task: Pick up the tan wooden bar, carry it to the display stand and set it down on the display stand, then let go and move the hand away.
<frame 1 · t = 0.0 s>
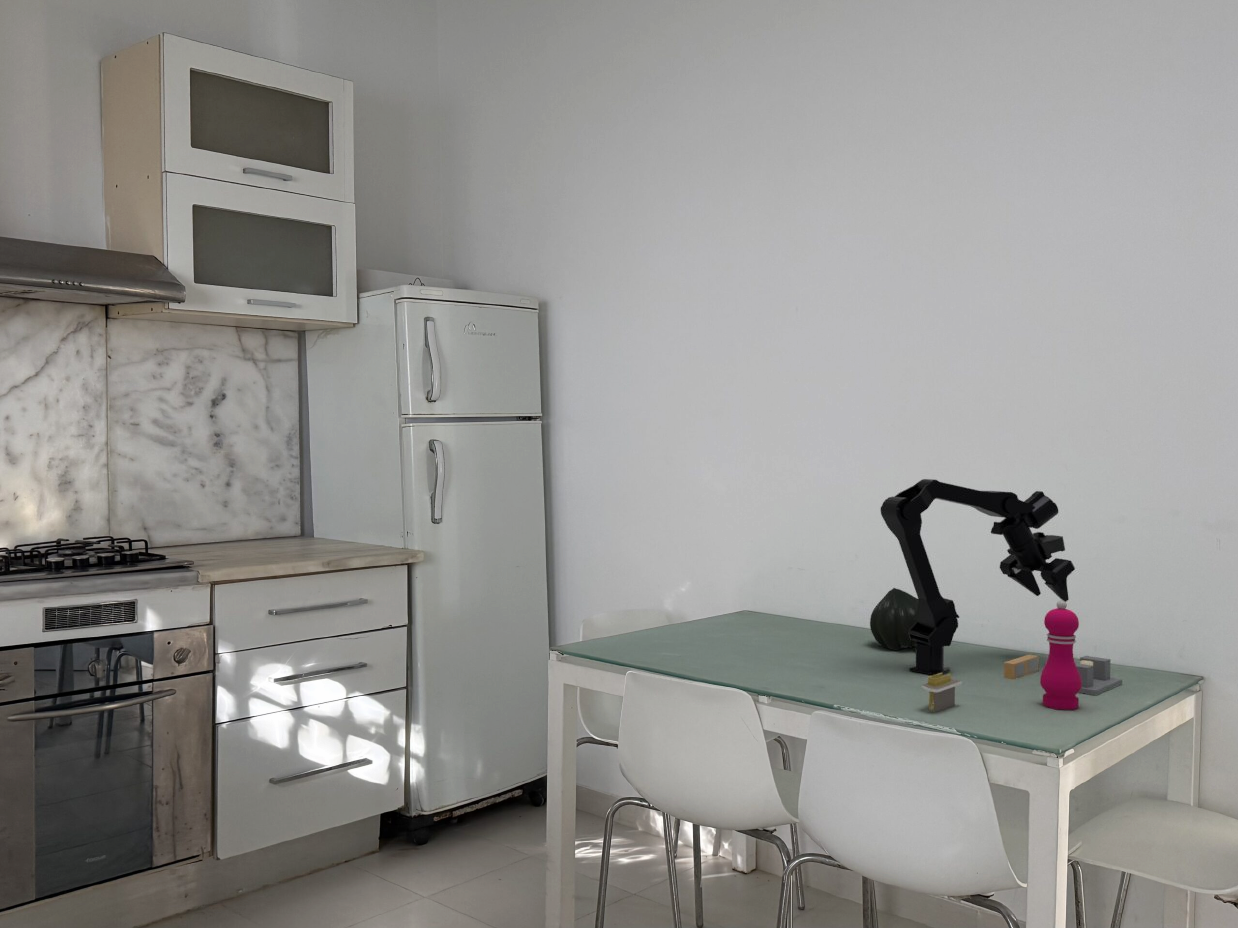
hand: (1052, 597, 231), 15 cm above the table, tool tilted 35°, fingers open, 9 cm apart
display stand: (1086, 685, 209), on the table
squash: (901, 648, 249), on the table
tan wooden bar: (1021, 675, 220), on the table
pepper mill: (1060, 706, 193), on the table
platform: (940, 711, 192), on the table
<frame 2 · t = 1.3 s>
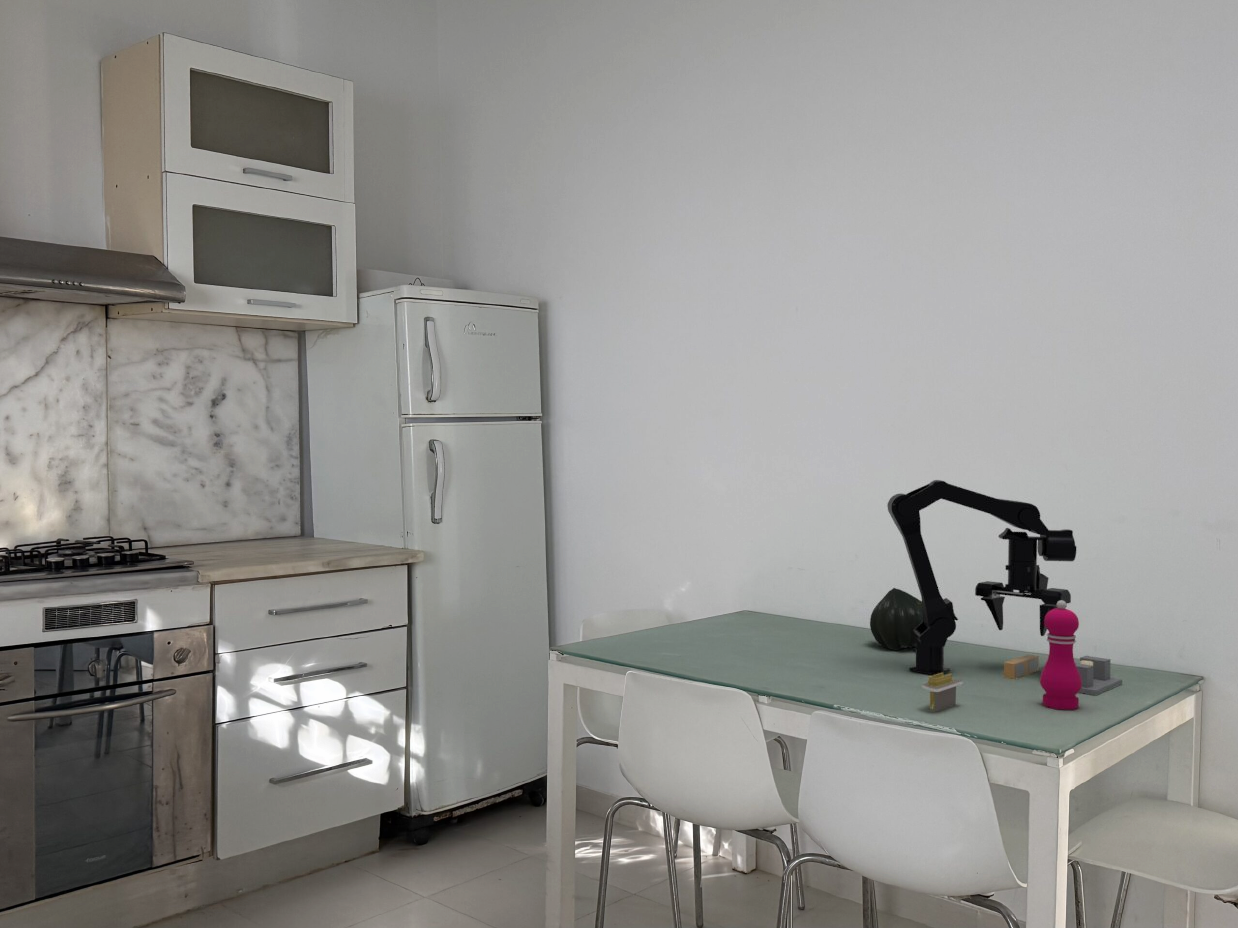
hand: (1021, 632, 220), 9 cm above the table, tool pointing down, fingers open, 9 cm apart
nothing on the table moved.
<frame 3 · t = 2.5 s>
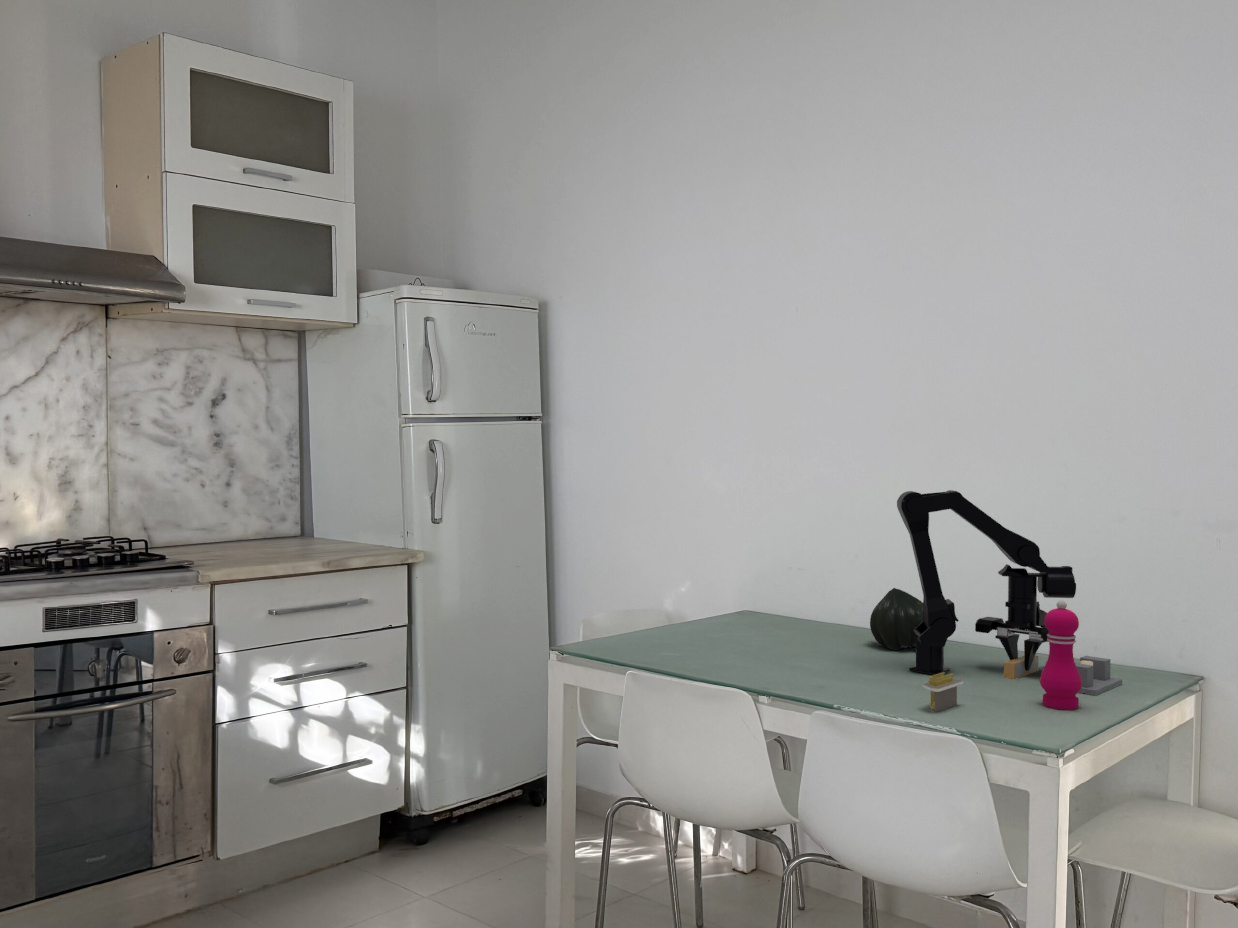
hand: (1021, 669, 220), 1 cm above the table, tool pointing down, fingers closed on tan wooden bar, 2 cm apart
tan wooden bar: (1021, 675, 220), on the table, touching gripper
everything else where it was.
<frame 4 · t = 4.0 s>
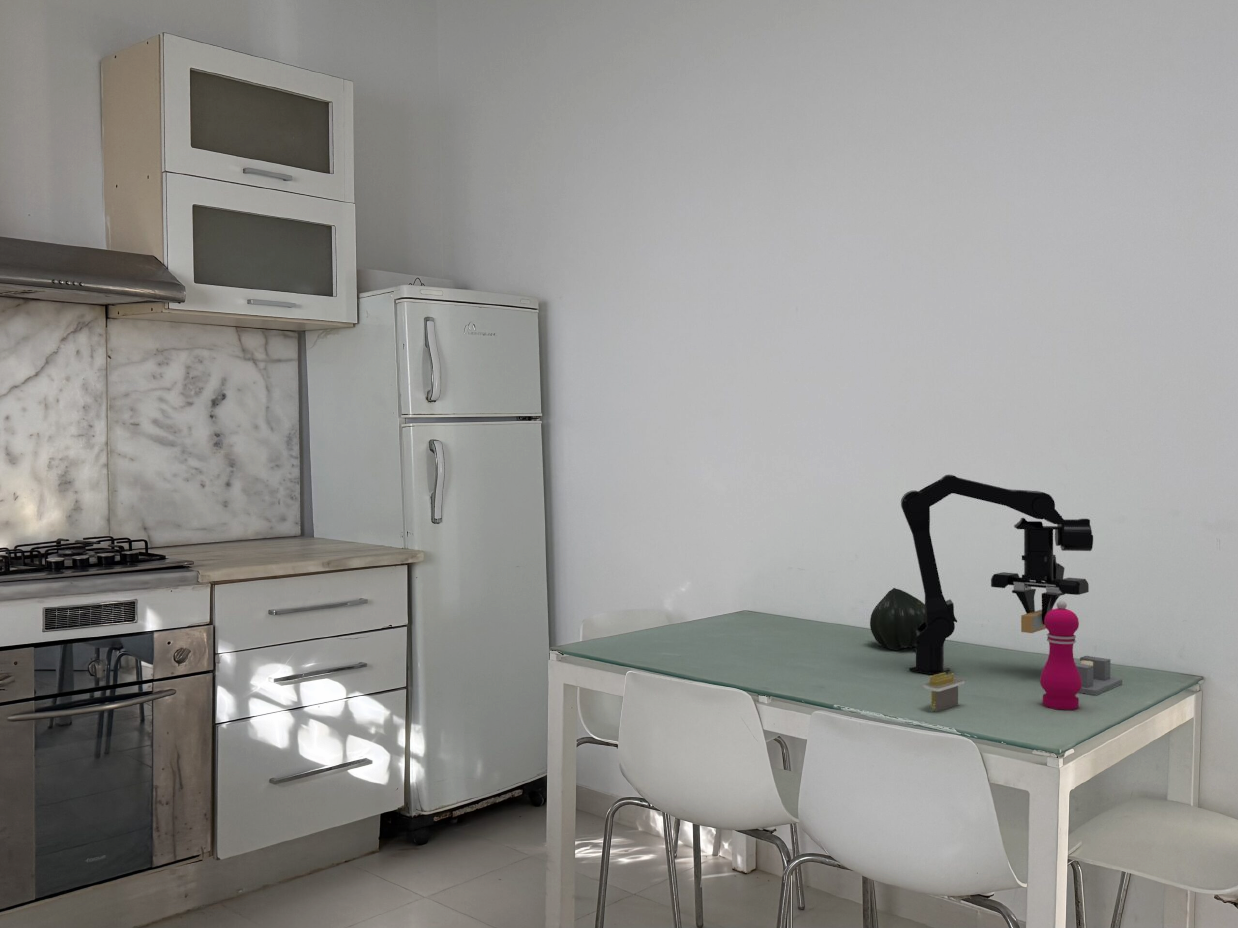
hand: (1038, 623, 217), 11 cm above the table, tool pointing down, fingers closed on tan wooden bar, 2 cm apart
tan wooden bar: (1038, 628, 217), point 10 cm above the table, touching gripper
everything else where it was.
when the fingers open (7 cm above the table, at t = 5.5 s): tan wooden bar stays where it is, resting on display stand.
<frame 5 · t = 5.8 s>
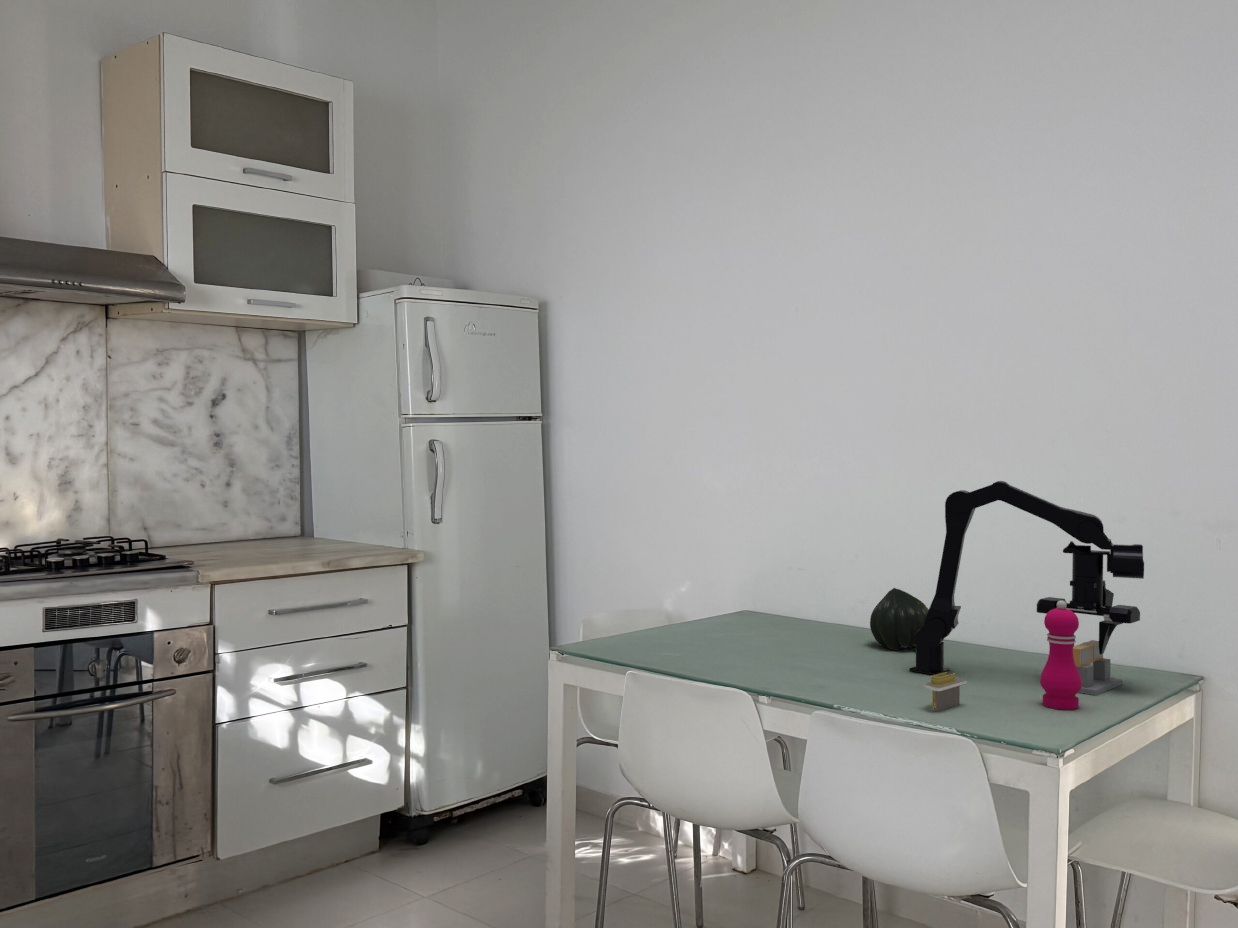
hand: (1086, 651, 209), 7 cm above the table, tool pointing down, fingers open, 6 cm apart
tan wooden bar: (1086, 661, 209), point 5 cm above the table, touching display stand
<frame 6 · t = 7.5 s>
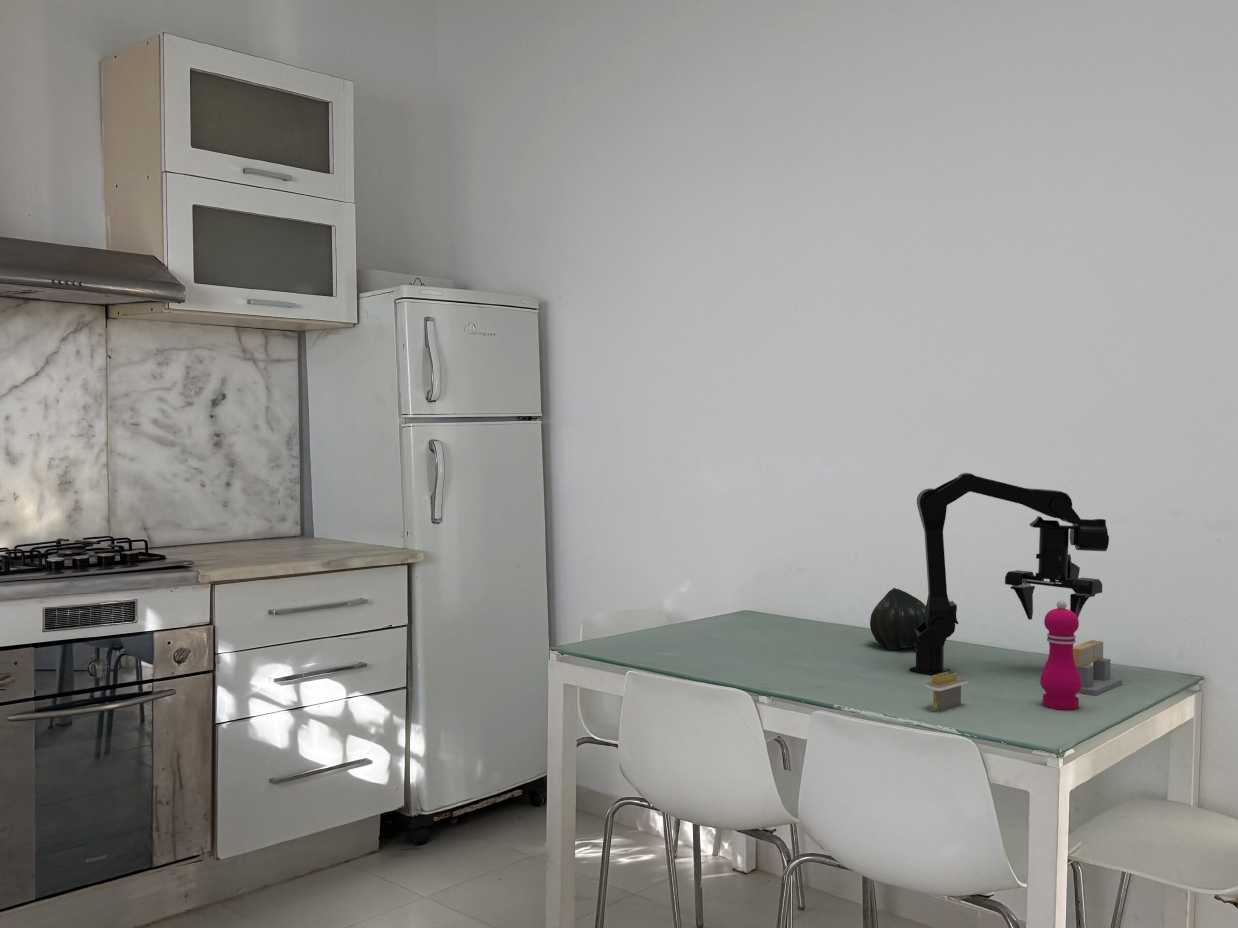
hand: (1051, 622, 218), 12 cm above the table, tool pointing down, fingers open, 9 cm apart
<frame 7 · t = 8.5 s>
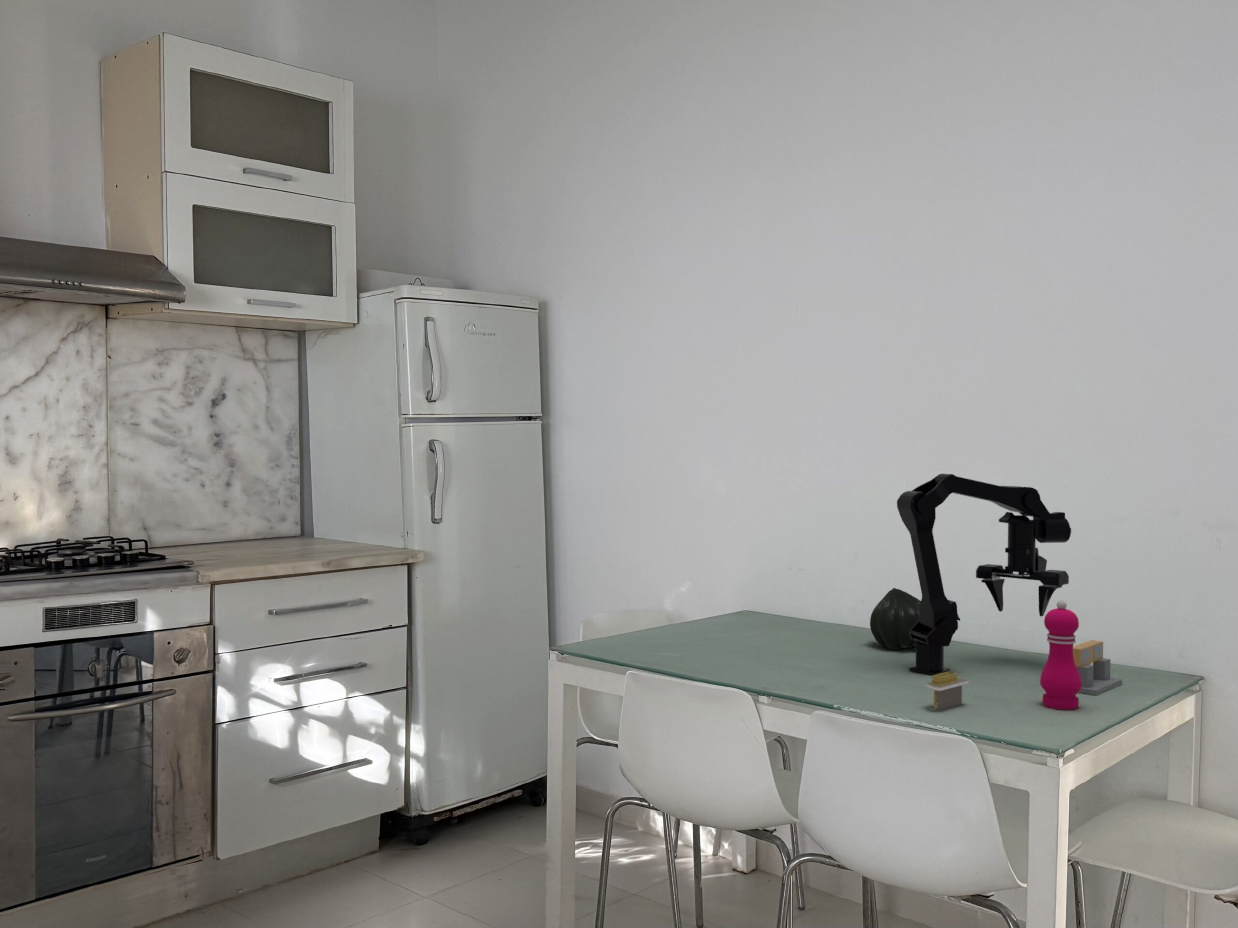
hand: (1020, 613, 226), 12 cm above the table, tool pointing down, fingers open, 9 cm apart
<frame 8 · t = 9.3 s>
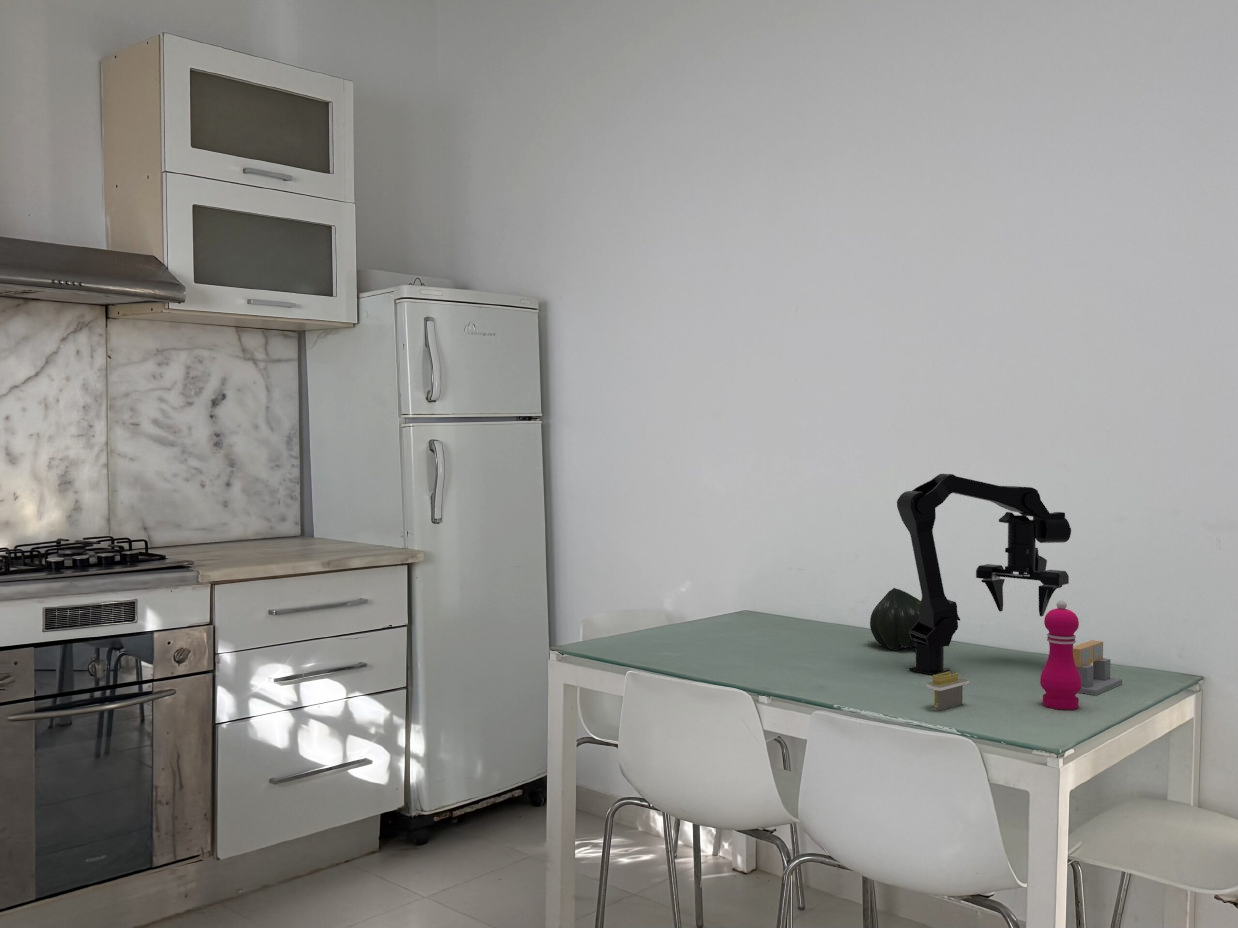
hand: (1020, 613, 226), 12 cm above the table, tool pointing down, fingers open, 9 cm apart
at the end: tan wooden bar 0.2 cm off-centre on the display stand, point 5.0 cm above the display stand's base; tan wooden bar tilted 0°; the gripper is holding nothing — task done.
